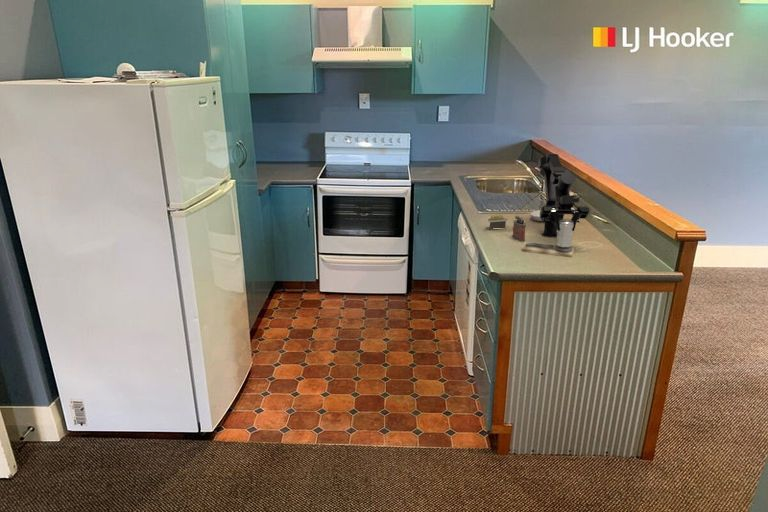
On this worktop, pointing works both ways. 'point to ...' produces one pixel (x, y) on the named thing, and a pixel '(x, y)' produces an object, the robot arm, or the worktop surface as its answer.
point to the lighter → (519, 229)
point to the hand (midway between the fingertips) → (566, 230)
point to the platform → (497, 222)
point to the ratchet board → (548, 249)
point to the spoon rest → (536, 215)
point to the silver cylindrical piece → (565, 233)
